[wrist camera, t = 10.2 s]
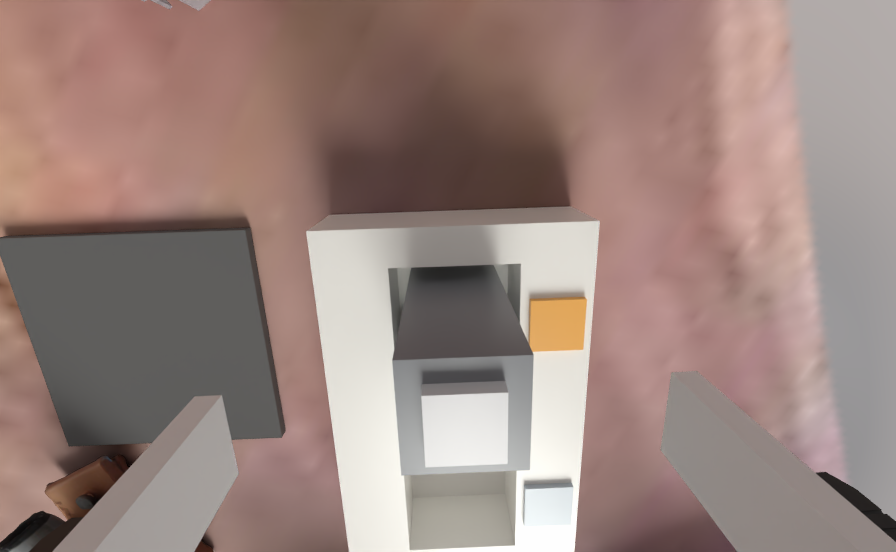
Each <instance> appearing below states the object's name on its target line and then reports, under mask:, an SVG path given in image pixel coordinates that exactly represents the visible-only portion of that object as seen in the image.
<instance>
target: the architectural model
mask: <svg viewBox="0 0 896 552" xmlns="http://www.w3.org/2000/svg"><path fill="white" fill-rule="evenodd" d="M142 1H144V2H145V1H146V0H142ZM151 1H153V2H155V3H158V4H160V5H162V6H164V7H166V8H168V9H171V8H172V6H171V4H170V3H169V2H168V1H167V0H151ZM180 1H181V2H183V3H185V4H187V5H189V6H191V7H193V8H195V9H196V10H198V11H200V10H201V9H202V8H203V7H204V6H205V5H206V4H207V3H208V2H209V1H211V0H180Z"/></svg>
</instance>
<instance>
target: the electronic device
mask: <svg viewBox="0 0 896 552" xmlns="http://www.w3.org/2000/svg"><path fill="white" fill-rule="evenodd" d="M128 469H129V468H128V466H127V465H126V459H125V458H124V457H123V456H122V455H117V456H115V457H113V458H112V459H109V458H108V457H107V456H102V457H100V458H98V459H97V460H96V461H94V462H93V463H90V464H88V465H87V466H85V467H83V468H80V469H78V470H77V471H75V472H73V473H71V474H69V475H67V476H66V477H64V478H61V479H59V480H57V481H55V482H53V483H49V484H48V485H47V488H46V490H45V494H46V495H47V496H48V497H49V498H50V499H51V500H52V501H53V502H54V504H55V505H56V506H57V507H58V508H59V510H60V511H61V512H62V513H63V515H64V516H65V517H66V519H67V520H69V519H70V518H75V517H85V516H86V514H87V513H88V512H89V511H90V510H91V509H92V508H93V507H94V506H95V505H96V504H97V502H98V501H99V500H100V499H101V498H102V497H103V496H104V495H105V494H106V493H107V492H108V490H109V489H110V488H111V487H112V486H113V485H114V484H115V483H116V482H117V481H118V480H119V478H120V477H121V476H122V475H123V474H124V473H125V472H126V471H127V470H128ZM63 523H65V521H63V520H62V519H60V518H59V517H57V516H54V515H52V514H48V513H45V512H44V511H40V512H38V513H34V514H33V515H32V516H31V517H30V518H28V519H27V520H26V521H24V522H22V523H21V524H20V525H19V526H18V527H17V528H16V529H15V530H14V531H13V532H12V533H11V534H9V535H8V536H7V537H6V538H5V539H4V540H3V541H1V542H0V552H29V551H30V550H31V549H32V548H33V547H34V546H35V545H36V544H37V543H38V542H39V541H40V540H41V539H42V538H44V537H45V536H46V535H48V534H49V533H51V532H52V531H53V530H55V529H56V528H58V527H59V526H60V525H62V524H63ZM194 552H213V550H212V548H211V547H209V546H208V545H206V544H205V543H203V542H202V541H200V542H199V544H198V546H197V548H196V549H195V551H194Z"/></svg>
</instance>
